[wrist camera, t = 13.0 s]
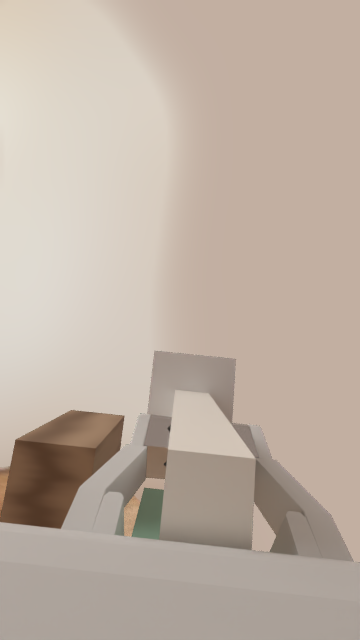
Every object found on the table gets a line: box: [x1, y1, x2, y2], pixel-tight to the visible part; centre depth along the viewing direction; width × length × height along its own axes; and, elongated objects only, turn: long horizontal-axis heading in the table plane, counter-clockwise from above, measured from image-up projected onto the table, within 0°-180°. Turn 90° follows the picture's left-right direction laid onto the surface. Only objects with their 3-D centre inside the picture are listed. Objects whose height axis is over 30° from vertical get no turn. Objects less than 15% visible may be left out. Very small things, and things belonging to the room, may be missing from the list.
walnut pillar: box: [0, 410, 124, 529], centre depth 22 cm, size 7×10×26 cm
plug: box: [147, 351, 256, 550], centre depth 15 cm, size 19×6×5 cm, turn 0°
